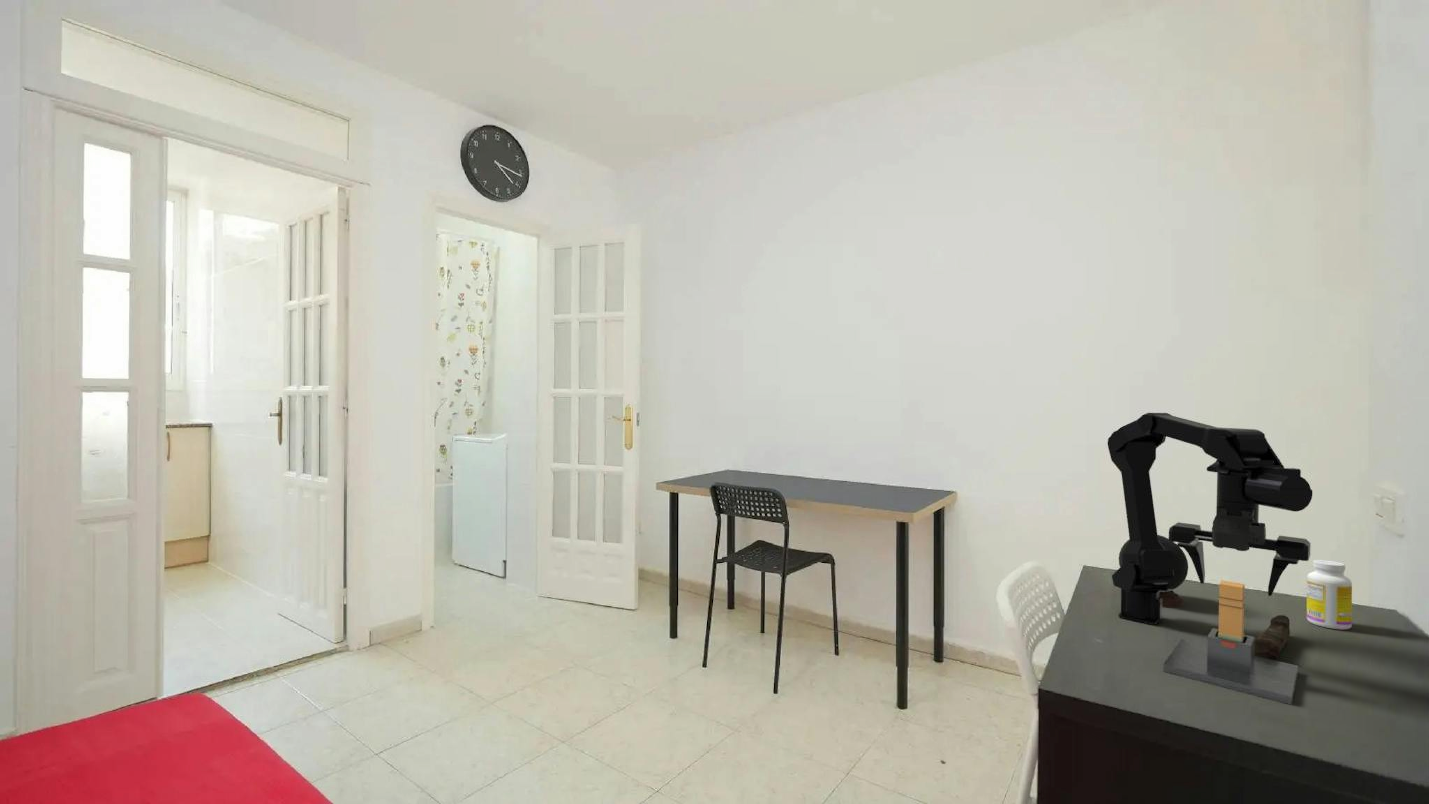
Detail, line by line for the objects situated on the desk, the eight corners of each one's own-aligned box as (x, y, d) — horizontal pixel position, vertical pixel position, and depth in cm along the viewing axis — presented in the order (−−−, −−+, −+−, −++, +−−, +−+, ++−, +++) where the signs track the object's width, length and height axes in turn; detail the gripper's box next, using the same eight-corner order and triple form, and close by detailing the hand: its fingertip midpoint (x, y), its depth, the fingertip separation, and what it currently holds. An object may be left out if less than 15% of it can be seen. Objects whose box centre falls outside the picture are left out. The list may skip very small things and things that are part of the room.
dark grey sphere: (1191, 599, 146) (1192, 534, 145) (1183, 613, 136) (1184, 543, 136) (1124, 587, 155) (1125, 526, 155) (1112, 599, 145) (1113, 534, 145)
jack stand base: (1163, 671, 107) (1163, 635, 107) (1181, 645, 118) (1181, 613, 118) (1291, 704, 95) (1292, 665, 95) (1297, 672, 106) (1298, 637, 106)
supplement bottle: (1350, 624, 130) (1351, 562, 130) (1352, 633, 125) (1353, 568, 125) (1306, 616, 134) (1307, 556, 134) (1306, 624, 130) (1307, 562, 129)
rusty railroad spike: (1278, 665, 110) (1278, 639, 110) (1248, 658, 113) (1249, 632, 113) (1303, 641, 121) (1304, 617, 121) (1276, 635, 125) (1277, 611, 125)
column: (1218, 639, 107) (1218, 583, 106) (1220, 635, 109) (1221, 580, 109) (1241, 645, 104) (1242, 587, 104) (1244, 640, 106) (1244, 584, 106)
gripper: (1162, 498, 112) (1160, 586, 112) (1307, 514, 98) (1304, 614, 98) (1176, 492, 119) (1174, 574, 120) (1311, 505, 106) (1309, 598, 106)
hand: (1235, 589), depth 111 cm, fingers open, 9 cm apart
